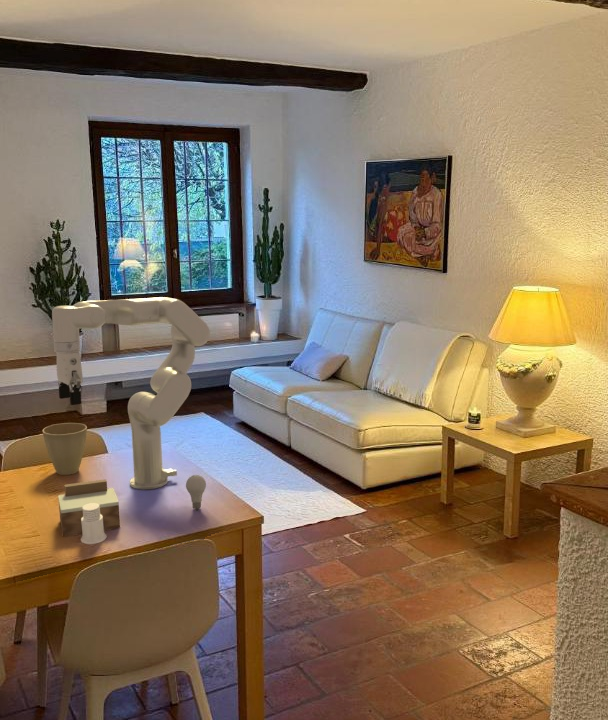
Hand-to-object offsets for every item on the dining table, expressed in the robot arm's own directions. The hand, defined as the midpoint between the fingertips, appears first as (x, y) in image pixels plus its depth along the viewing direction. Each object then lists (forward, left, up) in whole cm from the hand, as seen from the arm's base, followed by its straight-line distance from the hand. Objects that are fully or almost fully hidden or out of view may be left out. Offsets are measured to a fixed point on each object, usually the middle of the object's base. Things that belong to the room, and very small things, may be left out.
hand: (70, 401), depth 229 cm
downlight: (-2, +29, -34) cm, 45 cm away
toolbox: (-2, +19, -33) cm, 38 cm away
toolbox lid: (-2, +19, -26) cm, 32 cm away
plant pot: (+1, -31, -34) cm, 46 cm away
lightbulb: (-34, +20, -34) cm, 52 cm away
